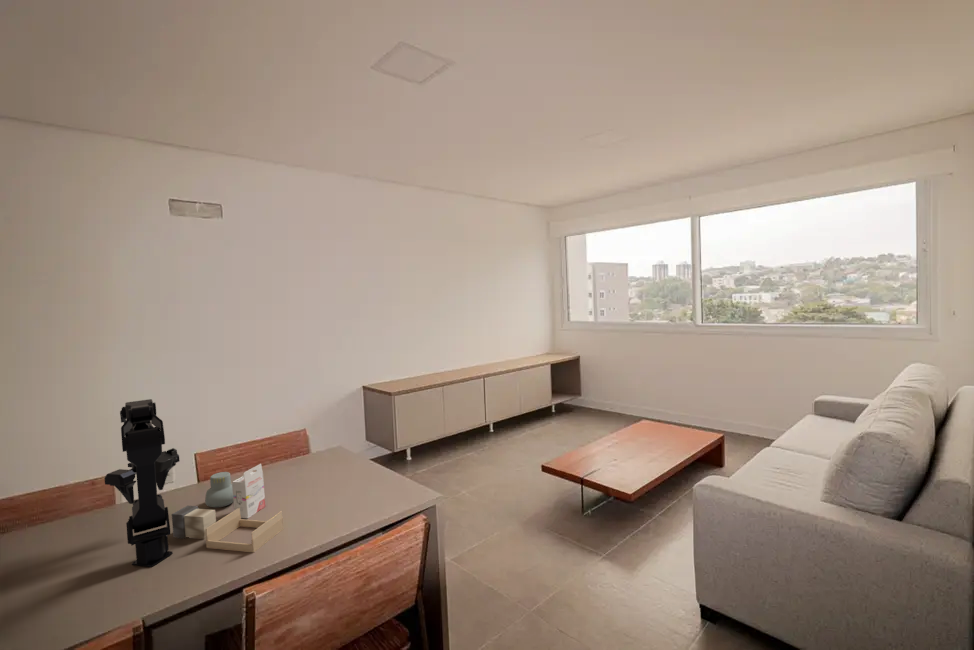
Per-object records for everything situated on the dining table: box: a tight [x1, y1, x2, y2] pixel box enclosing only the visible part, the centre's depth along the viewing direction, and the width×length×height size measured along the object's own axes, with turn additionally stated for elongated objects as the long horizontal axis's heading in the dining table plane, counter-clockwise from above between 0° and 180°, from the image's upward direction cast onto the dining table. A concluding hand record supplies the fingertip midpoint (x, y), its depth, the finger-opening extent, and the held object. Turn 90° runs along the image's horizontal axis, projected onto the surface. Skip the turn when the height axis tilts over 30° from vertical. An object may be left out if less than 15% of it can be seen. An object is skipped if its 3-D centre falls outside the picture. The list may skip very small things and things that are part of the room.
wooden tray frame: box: [205, 508, 285, 553], centre depth 132 cm, size 13×15×6 cm
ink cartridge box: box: [231, 463, 266, 519], centre depth 148 cm, size 9×5×15 cm, turn 169°
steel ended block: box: [171, 505, 217, 540], centre depth 135 cm, size 10×6×7 cm, turn 79°
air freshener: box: [204, 471, 234, 509], centre depth 155 cm, size 11×8×10 cm
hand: (146, 496), depth 134 cm, fingers open, 9 cm apart
